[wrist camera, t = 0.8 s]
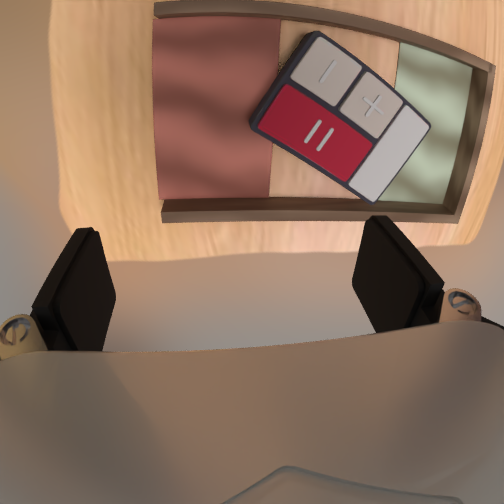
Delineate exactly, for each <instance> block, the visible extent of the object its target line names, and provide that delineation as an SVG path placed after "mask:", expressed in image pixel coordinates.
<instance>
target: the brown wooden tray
mask: <svg viewBox="0 0 504 504" xmlns="http://www.w3.org/2000/svg"><path fill="white" fill-rule="evenodd" d="M154 16H156V17H157V18H159V19H153V41H152V79H153V115H154V137H155V153H156V168H157V180H158V192H159V200H161V199H165V200H164V204H163V207H162V211H161V217H162V223H183V222H230V221H366V220H367V219H369V218H370V217H371V216H372V215H387V216H388V217H389V218H390V219H391V220H392V221H393V222H423V223H454V224H458V222H459V219H460V216H461V213H462V210H463V208H464V205H465V202H466V198H467V195H468V192H469V189H470V186H471V182H472V179H473V176H474V172H475V169H476V165H477V161H478V157H479V153H480V150H481V145H482V141H483V137H484V133H485V128H486V123H487V118H488V113H489V108H490V103H491V97H492V90H493V84H494V77H495V69H496V66H495V65H493V64H491V63H489V62H487V61H485V60H483V59H481V58H479V57H477V56H475V55H473V54H470V53H468V52H466V51H464V50H461V49H459V48H457V47H454V46H452V45H450V44H447V43H445V42H442V41H440V40H437V39H434V38H432V37H429V36H426V35H423V34H421V33H418V32H415V31H412V30H409V29H406V28H402V27H399V26H396V25H393V24H389V23H386V22H382V21H378V20H374V19H371V18H367V17H363V16H358V15H354V14H349V13H345V12H340V11H335V10H329V9H324V8H318V7H311V6H304V5H297V4H289V3H280V2H269V1H254V0H180V1H166V2H156V3H154ZM281 19H283V20H292V21H300V22H308V23H315V24H321V25H328V26H333V27H339V28H344V29H349V30H354V31H359V32H363V33H367V34H372V35H376V36H380V37H384V38H387V39H391V40H395V41H398V42H400V47H399V56H398V65H397V74H396V82H395V90H396V91H397V92H398V93H400V94H401V95H402V96H403V97H404V98H405V99H406V100H407V101H408V102H409V103H410V104H412V105H413V106H414V107H415V108H416V109H417V110H418V111H419V112H420V113H421V114H422V115H423V116H424V117H425V118H426V119H427V120H428V121H429V122H430V123H431V129H430V130H429V132H428V133H427V135H426V136H425V137H424V139H423V140H422V142H421V143H420V144H419V146H418V147H417V149H416V150H415V151H414V153H413V154H412V155H411V157H410V158H409V160H408V161H407V162H406V164H405V165H404V166H403V168H402V169H401V170H400V172H399V173H398V174H397V176H396V177H395V178H394V180H393V181H392V182H391V184H390V185H389V186H388V188H387V189H386V190H385V191H384V193H383V194H382V195H381V197H380V198H379V199H378V201H377V202H376V203H375V204H374V205H370V204H368V203H367V202H365V201H364V200H362V199H341V198H298V197H269V185H270V172H271V158H272V145H273V142H271V141H269V140H268V139H266V138H264V137H262V136H261V135H259V134H257V133H255V132H254V131H252V130H251V128H250V125H249V119H250V117H251V115H252V114H253V112H254V111H255V109H256V107H257V106H258V104H259V103H260V101H261V100H262V98H263V97H264V95H265V94H266V92H267V91H268V89H269V88H270V86H271V85H272V83H273V82H274V80H275V79H276V77H277V73H278V58H279V42H280V26H281Z"/></svg>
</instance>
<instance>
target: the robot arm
mask: <svg viewBox="0 0 504 504" xmlns="http://www.w3.org/2000/svg"><path fill="white" fill-rule="evenodd" d="M352 286H353V289H354V291H355V292H356V294H357V296H358V298H359V300H360V302H361V304H362V306H363V308H364V310H365V312H366V314H367V316H368V318H369V319H370V322H371V324H372V326H373V328H374V330H375V331H376V333H373V334H367V335H360V336H353V337H345V338H338V339H330V340H323V341H322V340H321V341H313V342H303V343H294V344H285V345H273V346H262V347H248V348H234V349H216V350H195V351H162V352H106V351H102V349H103V346H104V342H105V338H106V334H107V330H108V326H109V322H110V319H111V316H112V312H113V309H114V305H115V301H116V293H115V289H114V286H113V283H112V279H111V276H110V272H109V269H108V265H107V261H106V258H105V254H104V250H103V246H102V242H101V238H100V235H99V232H98V231H94V229H93V228H92V227H89V228H77V229H76V230H75V232H74V233H73V235H72V236H71V238H70V240H69V241H68V243H67V244H66V246H65V248H64V249H63V251H62V253H61V254H60V256H59V258H58V259H57V261H56V263H55V265H54V266H53V268H52V270H51V271H50V273H49V275H48V277H47V278H46V280H45V282H44V284H43V286H42V288H41V289H40V291H39V293H38V295H37V297H36V299H35V301H34V303H33V305H32V309H33V310H32V312H31V314H30V316H29V315H27V314H18V315H15V316H12V317H10V318H9V319H7V320H6V321H5V322H4V323H3V324H2V325H1V326H0V504H504V327H503V326H501V325H499V324H497V323H495V322H493V321H491V320H489V319H486V318H484V317H482V316H481V305H480V303H479V301H478V300H477V299H476V298H475V297H474V296H473V295H472V294H470V293H469V292H467V291H465V290H462V289H456V288H453V289H449V290H447V291H446V292H444V290H442V288H443V286H444V281H443V280H442V279H441V277H440V276H439V275H438V274H437V272H436V271H435V270H434V269H433V268H432V266H431V265H430V264H429V263H428V262H427V260H426V259H425V258H424V257H423V256H422V254H421V253H420V252H419V251H418V250H417V248H416V247H415V246H414V245H413V244H412V243H411V242H410V240H409V239H408V238H407V237H406V236H405V235H404V234H403V232H402V231H401V230H400V229H399V228H398V227H397V226H396V225H395V224H394V223H393V221H392V220H391V219H390V218H389V217H388V216H387V215H372V216H371V217H370V218H369V219H367V220H366V222H365V225H364V230H363V235H362V239H361V244H360V248H359V253H358V257H357V261H356V265H355V270H354V274H353V278H352Z"/></svg>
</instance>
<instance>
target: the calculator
mask: <svg viewBox="0 0 504 504" xmlns="http://www.w3.org/2000/svg"><path fill="white" fill-rule="evenodd" d="M249 125H250V128H251V130H252V131H254V132H255V133H257V134H259V135H261V136H262V137H264V138H266V139H268V140H269V141H271V142H273V143H275V144H276V145H278V146H280V147H281V148H283V149H285V150H286V151H288V152H290V153H291V154H293V155H295V156H296V157H298V158H299V159H301V160H303V161H304V162H306V163H308V164H309V165H311V166H312V167H314V168H316V169H317V170H319V171H320V172H322V173H323V174H325V175H326V176H328V177H329V178H331V179H333V180H334V181H336V182H337V183H339V184H340V185H342V186H343V187H345V188H346V189H348V190H349V191H351V192H352V193H354V194H355V195H356V196H358V197H359V198H361V199H362V200H364V201H365V202H367V203H368V204H370V205H374V204H375V203H376V202H377V201H378V199H379V198H380V197H381V195H382V194H383V193H384V191H385V190H386V189H387V188H388V186H389V185H390V184H391V182H392V181H393V180H394V178H395V177H396V176H397V174H398V173H399V172H400V170H401V169H402V168H403V166H404V165H405V164H406V162H407V161H408V160H409V158H410V157H411V155H412V154H413V153H414V151H415V150H416V149H417V147H418V146H419V144H420V143H421V142H422V140H423V139H424V137H425V136H426V135H427V133H428V132H429V130H430V129H431V123H430V122H429V121H428V120H427V119H426V118H425V117H424V116H423V115H422V114H421V113H420V112H419V111H418V110H417V109H416V108H415V107H414V106H413V105H412V104H410V103H409V102H408V101H407V100H406V99H405V98H404V97H403V96H402V95H401V94H400V93H398V92H397V91H396V90H395V89H394V88H393V87H392V86H391V85H389V84H388V83H387V82H386V81H385V80H384V79H382V78H381V77H380V76H379V75H378V74H376V73H375V72H374V71H373V70H372V69H370V68H369V67H368V66H367V65H365V64H364V63H363V62H361V61H360V60H359V59H358V58H356V57H355V56H354V55H352V54H351V53H350V52H348V51H347V50H346V49H344V48H343V47H342V46H340V45H339V44H337V43H336V42H335V41H333V40H332V39H330V38H329V37H327V36H326V35H324V34H323V33H321V32H320V31H313V32H310V33H308V34H306V35H305V37H304V38H303V40H302V41H301V42H300V44H299V45H298V47H297V48H296V49H295V51H294V52H293V54H292V55H291V57H290V58H289V59H288V61H287V62H286V64H285V65H284V67H283V68H282V70H281V71H280V73H279V74H278V76H277V77H276V79H275V80H274V82H273V83H272V85H271V86H270V88H269V89H268V91H267V92H266V94H265V95H264V97H263V98H262V100H261V101H260V103H259V104H258V106H257V107H256V109H255V111H254V112H253V114H252V115H251V117H250V119H249Z"/></svg>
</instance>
